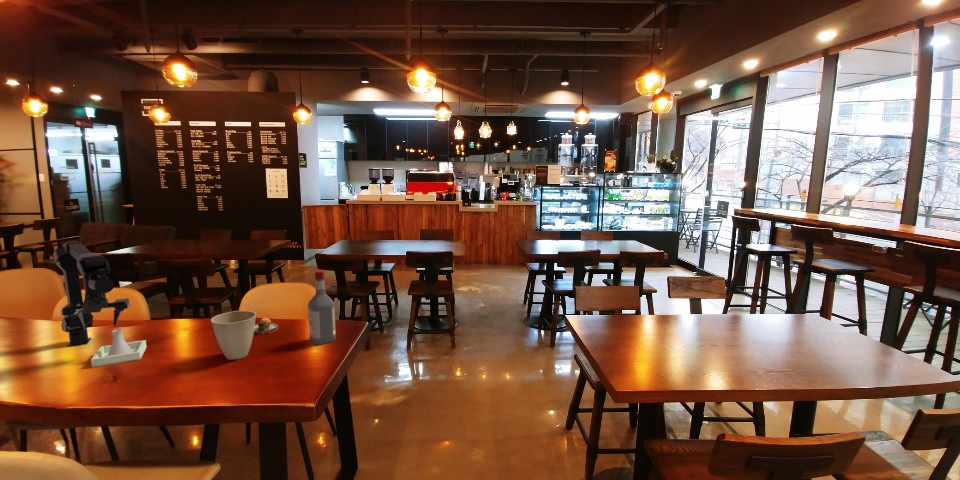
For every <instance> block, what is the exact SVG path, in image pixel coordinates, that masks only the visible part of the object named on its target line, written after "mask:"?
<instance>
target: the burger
mask: <svg viewBox="0 0 960 480" xmlns="http://www.w3.org/2000/svg"><path fill="white" fill-rule="evenodd" d="M278 330H279V324H278V323H277V322H272V321H271V319H270V318H268V316H267V317H263V318H261V319H260V322H258V323H257V324H255V328H254V334H253V335H256V334H257V335H259V334H261V335H264V334H270V333H274V332H276V331H278Z"/></svg>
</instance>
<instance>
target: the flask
mask: <svg viewBox="0 0 960 480" xmlns="http://www.w3.org/2000/svg"><path fill="white" fill-rule="evenodd" d="M111 333H112V343H111V344H110V345H111V348H110V351H109V354H108V356H112V355H119V354H125V353H132V350H131V349H130V347H129V346H128V344H127V343H128V342H127V341H126V340H125V337H124V335H123V334H124V329H120V328H119V329H114V330H112V331H111Z"/></svg>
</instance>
